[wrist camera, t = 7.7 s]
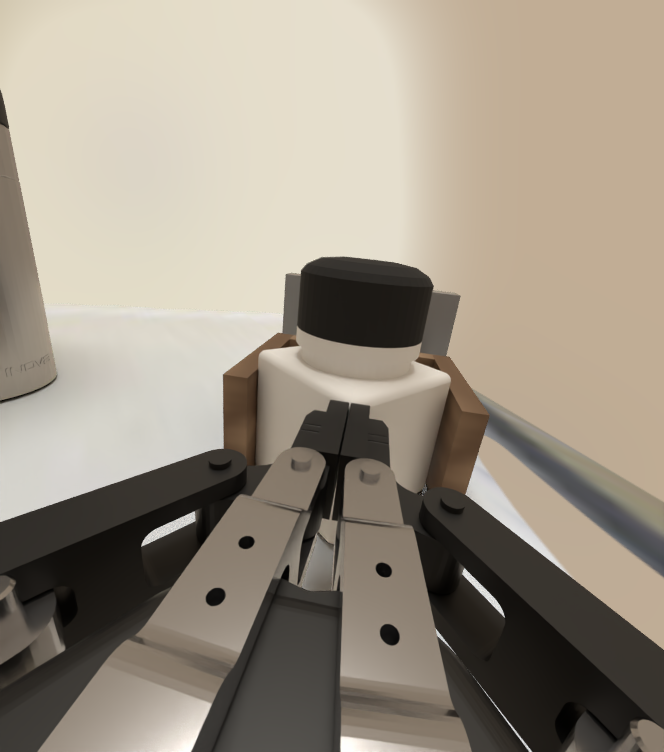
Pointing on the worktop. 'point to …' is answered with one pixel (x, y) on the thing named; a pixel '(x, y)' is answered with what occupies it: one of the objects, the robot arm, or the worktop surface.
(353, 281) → the medicine bottle
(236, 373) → the caddy
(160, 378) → the worktop surface
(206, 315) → the worktop surface
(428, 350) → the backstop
